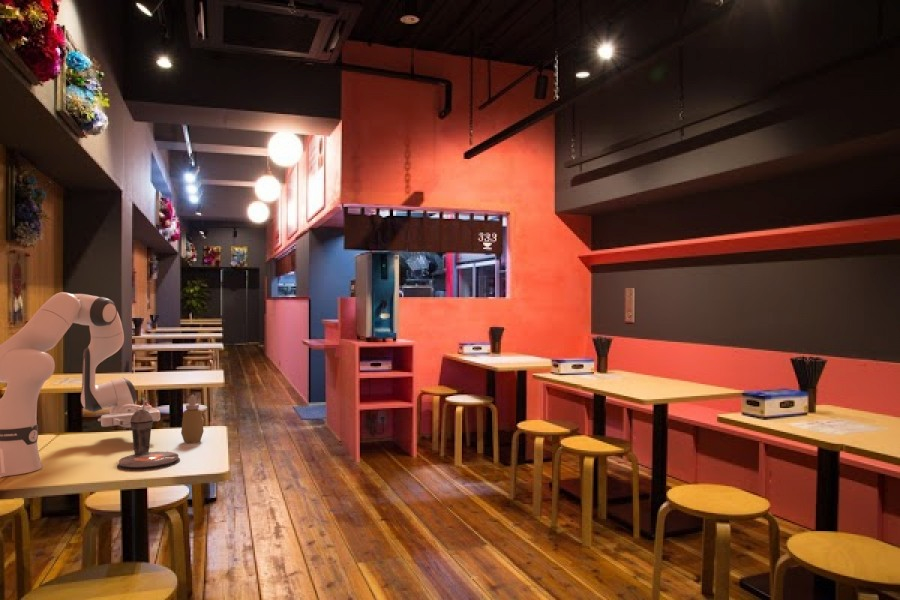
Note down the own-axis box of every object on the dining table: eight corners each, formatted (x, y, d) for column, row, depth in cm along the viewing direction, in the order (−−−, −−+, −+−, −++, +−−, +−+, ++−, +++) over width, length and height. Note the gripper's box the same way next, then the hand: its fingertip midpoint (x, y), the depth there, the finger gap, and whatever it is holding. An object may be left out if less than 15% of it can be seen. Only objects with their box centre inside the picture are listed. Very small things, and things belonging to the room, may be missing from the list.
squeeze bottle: (176, 443, 241) (176, 396, 241) (190, 438, 249) (190, 393, 249) (194, 444, 239) (194, 397, 239) (208, 440, 246) (208, 394, 246)
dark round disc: (106, 468, 202) (107, 464, 202) (138, 454, 220) (138, 450, 220) (161, 468, 201) (161, 464, 201) (188, 455, 219) (188, 451, 219)
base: (104, 470, 202) (104, 469, 202) (137, 456, 221) (137, 455, 221) (162, 471, 201) (162, 470, 201) (190, 456, 220) (190, 455, 220)
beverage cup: (125, 454, 223) (125, 398, 223) (144, 450, 229) (144, 395, 229) (139, 457, 219) (139, 399, 219) (157, 452, 226) (157, 396, 226)
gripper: (96, 410, 239) (103, 415, 228) (155, 404, 251) (163, 409, 240) (97, 427, 239) (103, 433, 228) (155, 420, 251) (163, 426, 240)
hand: (134, 421), depth 234 cm, fingers open, 8 cm apart
